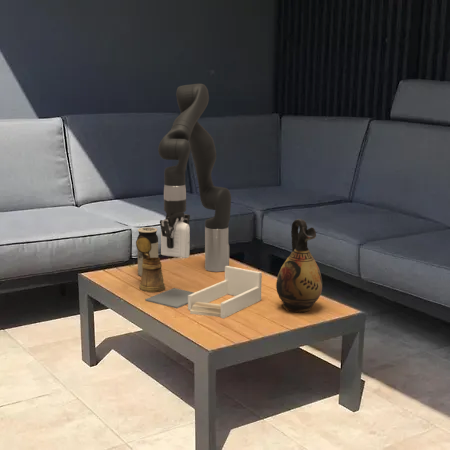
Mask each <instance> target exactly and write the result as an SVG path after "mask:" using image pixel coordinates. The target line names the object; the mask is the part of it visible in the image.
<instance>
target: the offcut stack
mask: <svg viewBox="0 0 450 450" xmlns="http://www.w3.org/2000/svg"><path fill="white" fill-rule="evenodd" d="M189 314H190V315H199V316H207V317H216V318H221V303H212V302H209V303H203V302H196V303H195V304H194V305H193V306H192V309H191V310H189Z"/></svg>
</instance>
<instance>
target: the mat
mask: <svg viewBox="0 0 450 450" xmlns="http://www.w3.org/2000/svg"><path fill="white" fill-rule="evenodd" d="M193 293H195V292H194V291H189V290H185V289H182V288H175V287H173V288H170V289H168V290H165V291H162V292H159V293H158V294H157V293H156V295H151V296H150V297H148V298H147V297H146V298H145V299H144V300H145V301H146V302H150V303H153V304H158V305H162V306H166V307H170V308H173V309H179V308H182V307H183V306H186V305H188V295H190V294H193Z"/></svg>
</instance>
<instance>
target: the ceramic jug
mask: <svg viewBox="0 0 450 450" xmlns="http://www.w3.org/2000/svg"><path fill="white" fill-rule="evenodd" d="M290 233H291V234H290V235H291V250H292V251H291V253H290V255H289V256H287V258H286V260H285V261H284V262H283V264H282V266H281V267H280V270H279V272H278V274H277V277H276V283H275V288H276V292H277V293H276V294H277V295H278V297H279V299H280V300H281V302H282V303H283V308H284V309H285V310H287V311H288V312H294V313H305V312H309V311H311V308H312V306H313V305H314V304H316V302H317V301H318V300H319V299H320V297H321V294H322V292H323V291H322V290H323V279H322V274H321V271H320V267H319V266H318V264H317V262H316V259H315V258H314V257H313V255H312V253H311V251H310V249H309V247H308V242H309V241H310V240H314V239H316V238H317V231H316V230H315V228H314V227H310V228H308V224H307V222H306V221H305V220H304V219H303V218H297V219H295V220H294V221H293V222H292V224H291V232H290Z"/></svg>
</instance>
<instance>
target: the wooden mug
mask: <svg viewBox="0 0 450 450" xmlns="http://www.w3.org/2000/svg"><path fill="white" fill-rule="evenodd" d="M135 246H136V249H138V250H137V252H138V251H139V252H141V253H142V255H143V263H142V268H143V269H142V276H141V280H140V283H139V289H140V290H141V291H142V292H147V293H148V292H149V293H156V292H161V291H162V292H163V291H164V290H165V289H166V286H165V285H166V284H165V282H164V276H163V269H162V261H161V258H160V257H158V258H150V254H149V252H150V251H151V249H152V246H151V243H150V241H149V240H148V239H147V238H145V237H143V236H140V237H139V238H138V239H137V238H136V241H135ZM145 252H146V253H145Z"/></svg>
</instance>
